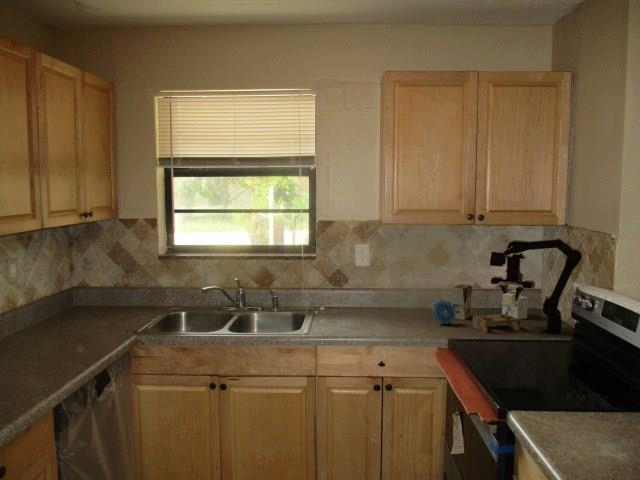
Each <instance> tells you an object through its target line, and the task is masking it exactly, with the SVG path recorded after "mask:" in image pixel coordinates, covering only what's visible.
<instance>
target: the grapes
mask: <svg viewBox="0 0 640 480" xmlns="http://www.w3.org/2000/svg"><path fill="white" fill-rule="evenodd" d="M433 307H434V308H432V310H431V312H432V314H433V315H434V320H435V321H439V322H440V324H441V325H445V324H446V323H447V324H451V323H452V322H453V319H454V320H455V316H456V315H455V313H453V312H455V308H454V307H453V305H452V304H451V302H450V301H449V300H446V301H445V300H444V299H440V300H438V302H435V303H433Z"/></svg>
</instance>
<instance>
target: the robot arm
mask: <svg viewBox="0 0 640 480" xmlns="http://www.w3.org/2000/svg"><path fill="white" fill-rule="evenodd" d="M555 248H556V249H558V251H560V252H561V253H562V254H563V255H565V256H566V258H565V261H564V266H563V268H562V271H561V273H560V275H559V277H558V279H557V281H556V284H555V286H554V288H553V290H552V292H551V294H550V295H549V296H548V295H545V299H544V301H543V302H542V303H541V307H542V311H543V314H544V315H545V316H546V319H545V328H543V329H542V330H543V331H545V332H547V333H549V334H552V335H554V334H555V335H556V334H564V333H565V331H564V330H562V326H563V325H562V323H563V322H562V321H563V319H562V311H561V310H560V309H558V308H559V302H560V300H561V299H560V298H561V296H562V294H563V292H564V290H565V287H566V285H567V283H568V281H569V279H570V277H571V274H572V273H573V271H574V270H575V268H576V267H577V266H578V265H579V264H580V262H581V260H582V258H583V254H582V251H581V250H579V249H578V248H573V247H572V246H570V245H569V244H568V243H566V242H564V241H563V240H562V239H561V238H555V239H553V238H552V239H541V240H531V241H529V240H516V239H513V240H511V241H509V242H508V244H507V247H506V250H504V251H502V252H498V251H492V250H491V253H490V259H489V266H491V267H500V268H501V267H502V268H503V267H504V265H506V269H505V272H506V276H505V277H506V278H505V279H504V278H503V277H502V276H497V275H496V276H493V277H492V278H490V284H491V285H498V287H500V289H501V290H502V292H503V294H505V293H507V292H509V285H515V286H517V287H516V288H515V290H516V297H515V299H516V301H517V300H518V298H519V295H520V293H521V294H522V291H523V290H525V289H529V290H530V289H534V288H536V287H535V286H536V283H535V281H534V280H529V279H525V280H523V279H524V278H523V277H524V274H523V273H522V272H521V271H522V270H521V260H522V259H525V258H526V256H525V255H524V254H523V253H524V252H527V251H532V250H543V249H544V250H546V249H555Z"/></svg>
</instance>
